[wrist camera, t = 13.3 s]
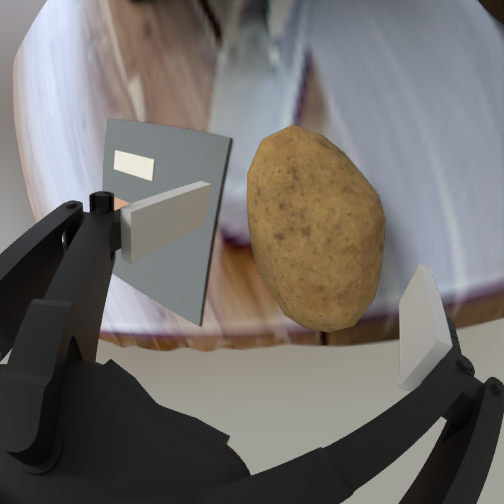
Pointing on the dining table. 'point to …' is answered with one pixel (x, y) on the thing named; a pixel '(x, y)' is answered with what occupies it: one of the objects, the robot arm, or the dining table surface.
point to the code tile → (159, 181)
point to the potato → (314, 229)
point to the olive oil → (495, 8)
